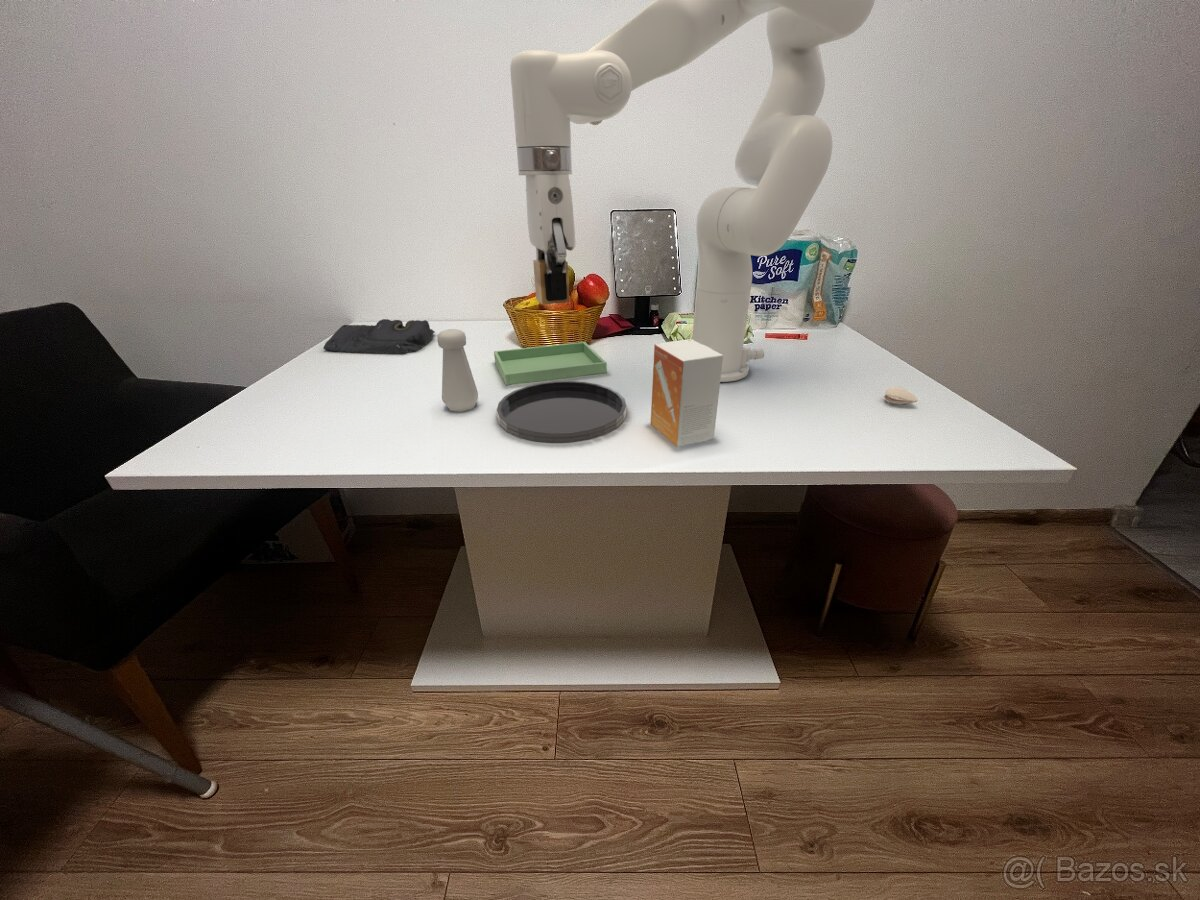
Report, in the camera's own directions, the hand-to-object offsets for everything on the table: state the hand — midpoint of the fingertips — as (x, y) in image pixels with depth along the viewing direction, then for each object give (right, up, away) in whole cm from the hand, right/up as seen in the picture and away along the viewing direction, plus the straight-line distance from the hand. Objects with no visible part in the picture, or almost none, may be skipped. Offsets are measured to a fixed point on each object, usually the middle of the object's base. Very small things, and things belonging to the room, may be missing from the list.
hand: (552, 295), depth 80 cm
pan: (+1, -19, +1) cm, 19 cm away
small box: (+19, -22, -4) cm, 30 cm away
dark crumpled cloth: (-42, 0, +37) cm, 56 cm away
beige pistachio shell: (+57, -17, +4) cm, 60 cm away
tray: (-3, -8, +20) cm, 22 cm away
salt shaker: (-15, -18, +4) cm, 24 cm away
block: (0, -1, 0) cm, 1 cm away
